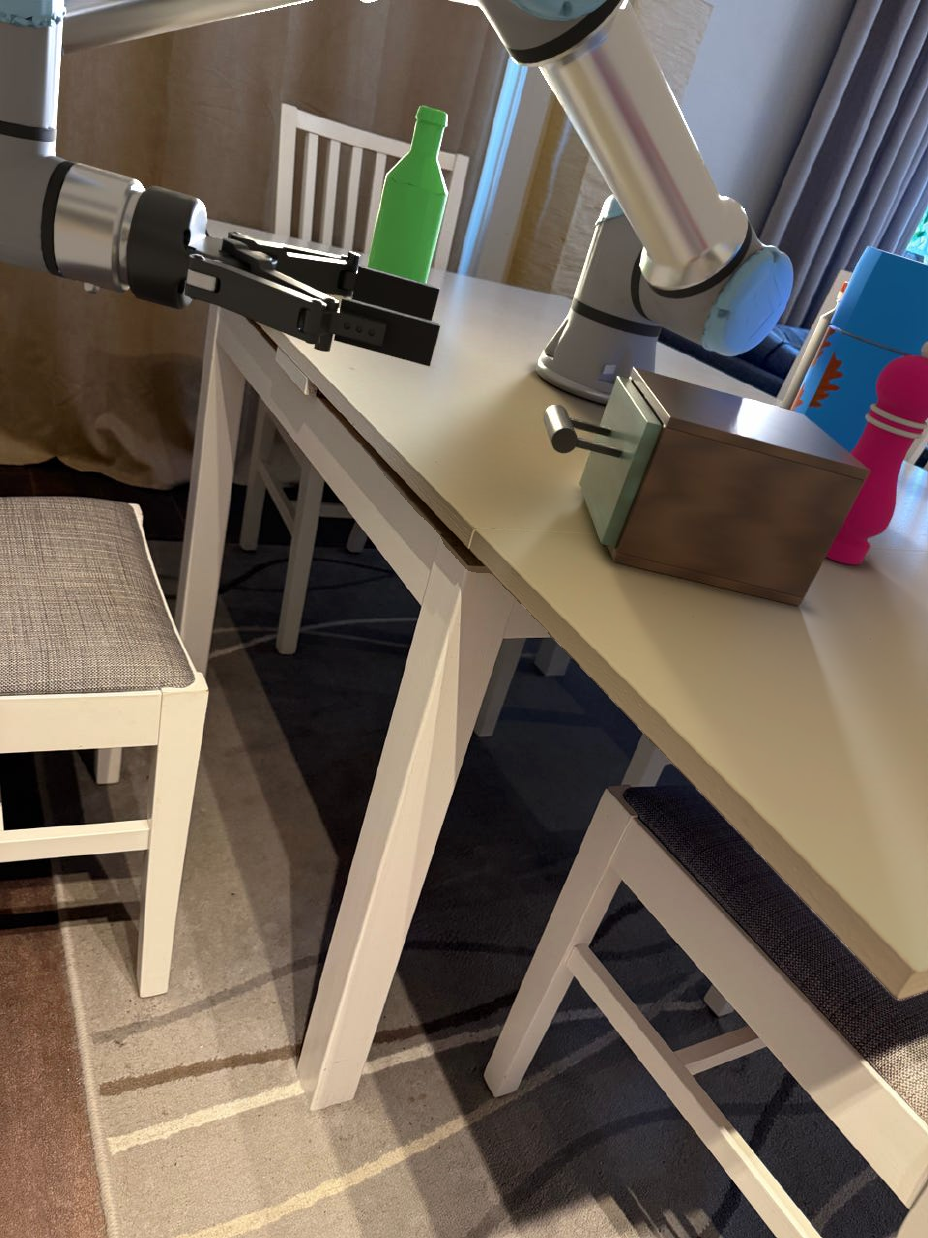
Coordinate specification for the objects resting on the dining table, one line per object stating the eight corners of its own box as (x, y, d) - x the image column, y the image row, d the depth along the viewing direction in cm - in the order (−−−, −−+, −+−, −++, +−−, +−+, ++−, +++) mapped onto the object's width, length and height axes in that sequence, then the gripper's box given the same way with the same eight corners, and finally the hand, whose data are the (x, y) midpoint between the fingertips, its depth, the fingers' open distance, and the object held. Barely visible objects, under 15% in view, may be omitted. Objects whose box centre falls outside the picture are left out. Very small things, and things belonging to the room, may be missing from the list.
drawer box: (613, 561, 68) (670, 416, 62) (587, 493, 79) (633, 366, 74) (800, 606, 70) (871, 470, 65) (747, 534, 82) (804, 414, 76)
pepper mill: (783, 524, 87) (882, 319, 78) (851, 542, 88) (957, 342, 79) (805, 555, 81) (916, 337, 72) (878, 575, 82) (998, 361, 72)
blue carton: (851, 496, 104) (966, 276, 92) (857, 524, 94) (985, 283, 83) (761, 463, 105) (861, 243, 94) (758, 488, 96) (869, 246, 84)
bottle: (412, 312, 126) (458, 116, 114) (354, 293, 127) (394, 96, 115) (426, 304, 134) (471, 119, 122) (371, 286, 134) (411, 101, 123)
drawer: (531, 527, 67) (573, 402, 62) (518, 468, 77) (553, 358, 73) (775, 586, 70) (833, 471, 65) (730, 522, 81) (777, 419, 76)
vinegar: (765, 418, 129) (828, 276, 120) (788, 418, 134) (851, 281, 124) (805, 437, 125) (874, 292, 116) (827, 436, 130) (895, 297, 120)
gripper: (177, 268, 75) (424, 336, 78) (71, 333, 53) (419, 424, 56) (188, 171, 71) (446, 247, 74) (79, 199, 49) (450, 304, 53)
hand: (435, 323), depth 65 cm, fingers open, 13 cm apart
